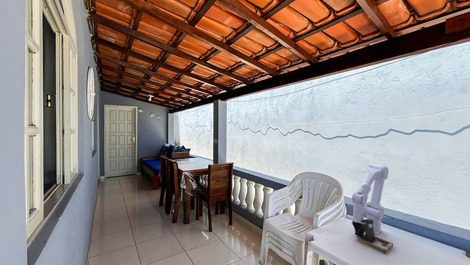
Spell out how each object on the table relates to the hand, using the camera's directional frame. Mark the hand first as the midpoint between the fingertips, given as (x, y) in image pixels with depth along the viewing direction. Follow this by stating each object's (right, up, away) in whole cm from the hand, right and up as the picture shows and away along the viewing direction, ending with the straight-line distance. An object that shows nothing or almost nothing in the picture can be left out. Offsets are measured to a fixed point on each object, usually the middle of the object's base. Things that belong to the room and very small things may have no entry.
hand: (357, 233), depth 121 cm
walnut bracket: (+6, -2, -8) cm, 10 cm away
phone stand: (+3, -1, -3) cm, 4 cm away
